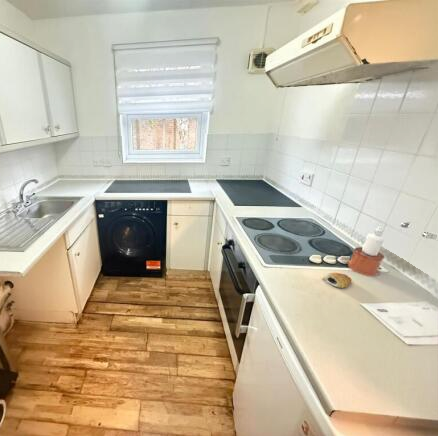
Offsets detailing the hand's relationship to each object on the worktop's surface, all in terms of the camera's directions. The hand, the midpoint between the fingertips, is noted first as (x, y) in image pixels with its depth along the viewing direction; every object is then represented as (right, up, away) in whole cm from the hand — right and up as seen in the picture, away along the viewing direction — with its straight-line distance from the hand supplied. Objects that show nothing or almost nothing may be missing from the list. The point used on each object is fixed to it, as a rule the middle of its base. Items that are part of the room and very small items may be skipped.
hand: (412, 229), depth 93 cm
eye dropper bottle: (-12, -10, +6) cm, 17 cm away
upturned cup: (-12, -17, +9) cm, 23 cm away
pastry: (-30, -21, +1) cm, 36 cm away
